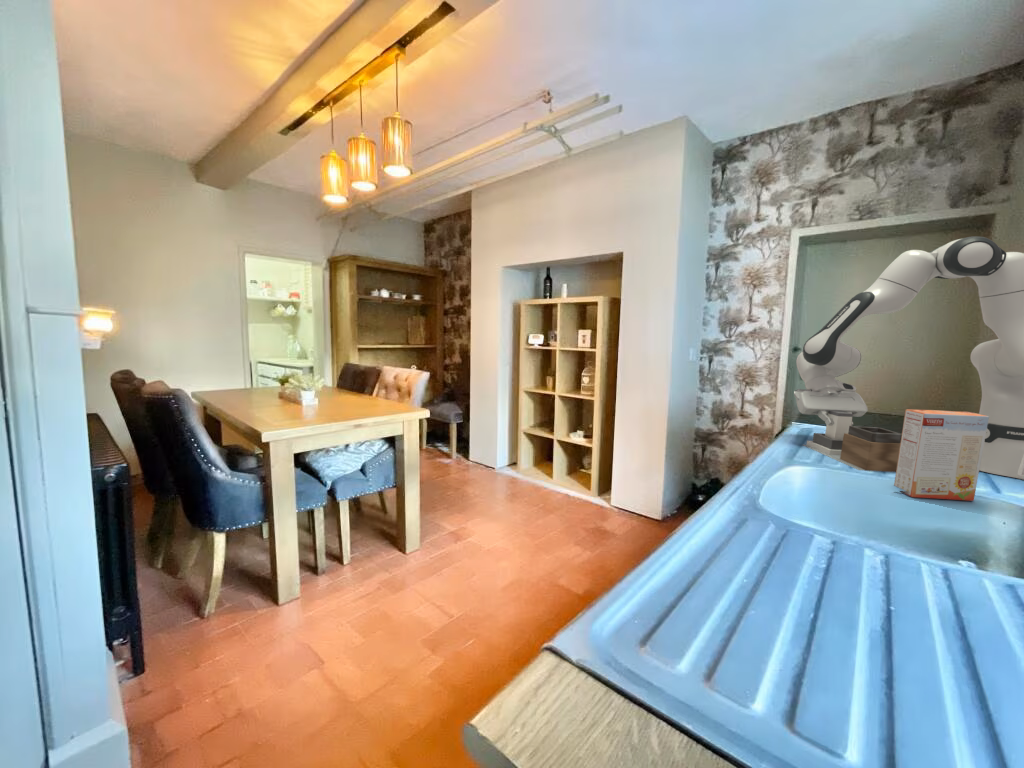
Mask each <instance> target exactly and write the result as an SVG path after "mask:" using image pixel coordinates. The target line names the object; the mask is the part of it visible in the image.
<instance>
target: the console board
mask: <svg viewBox="0 0 1024 768" xmlns="http://www.w3.org/2000/svg"><path fill="white" fill-rule="evenodd" d="M802 446H804V447H806V448H808V449H810V450H812V451H814V452H817V453H819V454H822V455H824V456H826V457H828V458H831V459H832V460H835V461H837V462H840V463H842V464H843V465H846V466H848V467H850V468H853V469H855V470H857V471H867V472H868V471H869V470H864V469H862V468H859V467H857V466H855V465H853V464H850V463H848V462H846V461H843V460H841V459H840V456H841V455H828V454H826V453H824V452H821V451H819V450H817V449H815V448H812V447H810V446H808V445H807V444H802ZM869 472H870V471H869ZM883 472H888V471H883ZM888 473H889V472H888Z"/></svg>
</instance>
